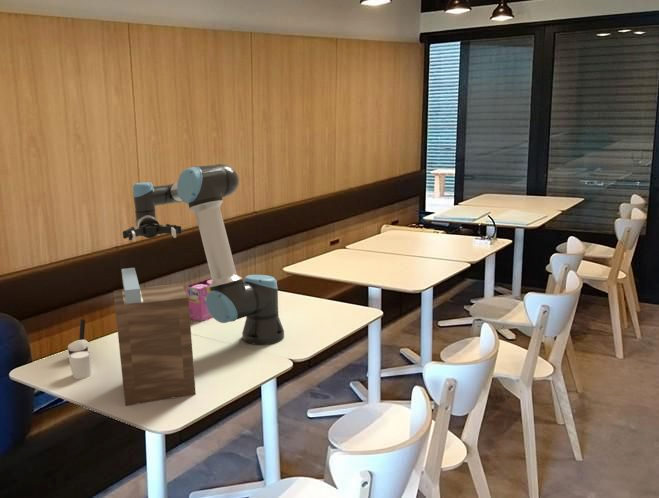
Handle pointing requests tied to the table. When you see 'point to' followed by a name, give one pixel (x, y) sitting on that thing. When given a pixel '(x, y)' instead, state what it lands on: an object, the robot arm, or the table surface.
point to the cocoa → (79, 341)
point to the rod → (131, 286)
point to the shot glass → (81, 364)
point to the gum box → (198, 300)
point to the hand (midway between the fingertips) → (154, 235)
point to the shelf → (155, 344)
